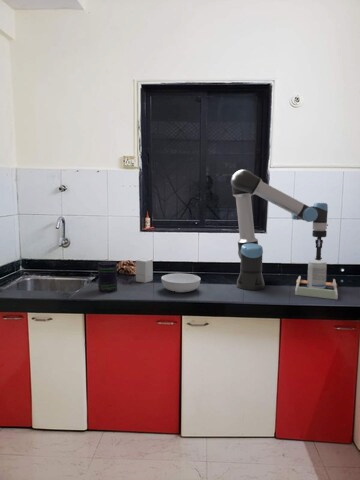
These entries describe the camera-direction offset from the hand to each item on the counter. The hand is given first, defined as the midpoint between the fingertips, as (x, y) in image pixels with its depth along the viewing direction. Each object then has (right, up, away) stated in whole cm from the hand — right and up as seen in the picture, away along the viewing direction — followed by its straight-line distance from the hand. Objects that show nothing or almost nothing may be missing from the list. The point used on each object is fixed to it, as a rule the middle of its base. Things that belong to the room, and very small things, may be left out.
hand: (317, 270), depth 205 cm
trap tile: (-1, -8, 0) cm, 8 cm away
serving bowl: (-80, -9, -17) cm, 82 cm away
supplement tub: (-5, -9, -9) cm, 14 cm away
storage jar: (-118, -9, -19) cm, 120 cm away
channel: (-6, -9, -12) cm, 16 cm away
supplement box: (-101, -7, +2) cm, 101 cm away
